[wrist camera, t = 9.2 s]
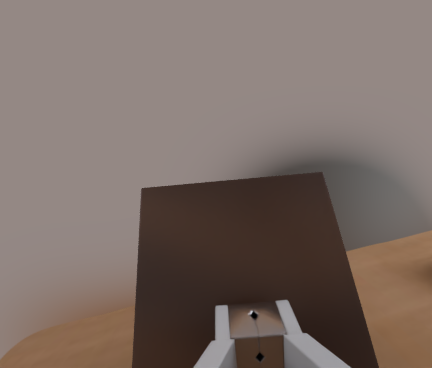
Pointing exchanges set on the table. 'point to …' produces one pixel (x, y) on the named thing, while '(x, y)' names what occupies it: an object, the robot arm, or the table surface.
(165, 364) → the lid
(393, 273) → the table surface
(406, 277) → the table surface
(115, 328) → the table surface
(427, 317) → the table surface
